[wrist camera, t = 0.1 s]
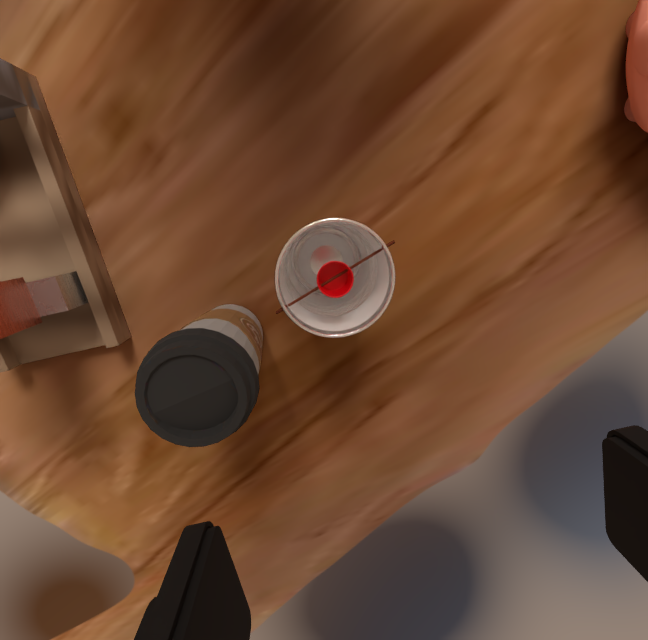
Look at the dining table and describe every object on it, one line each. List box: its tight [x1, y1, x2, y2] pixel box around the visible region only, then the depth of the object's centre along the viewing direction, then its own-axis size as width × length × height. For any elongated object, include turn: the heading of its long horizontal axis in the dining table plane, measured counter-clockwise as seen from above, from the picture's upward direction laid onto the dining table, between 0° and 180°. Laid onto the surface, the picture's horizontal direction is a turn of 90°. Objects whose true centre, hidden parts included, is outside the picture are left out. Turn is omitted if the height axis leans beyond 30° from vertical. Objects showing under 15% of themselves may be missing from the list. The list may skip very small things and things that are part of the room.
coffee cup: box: [135, 304, 263, 447], centre depth 33 cm, size 8×8×15 cm
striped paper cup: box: [275, 217, 396, 338], centre depth 33 cm, size 10×8×12 cm
